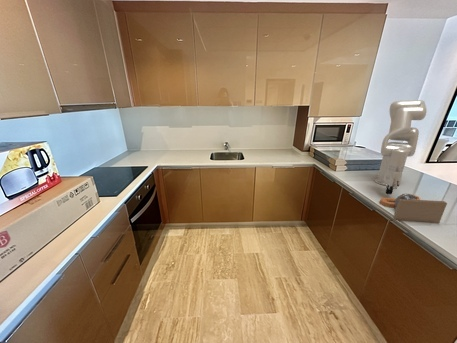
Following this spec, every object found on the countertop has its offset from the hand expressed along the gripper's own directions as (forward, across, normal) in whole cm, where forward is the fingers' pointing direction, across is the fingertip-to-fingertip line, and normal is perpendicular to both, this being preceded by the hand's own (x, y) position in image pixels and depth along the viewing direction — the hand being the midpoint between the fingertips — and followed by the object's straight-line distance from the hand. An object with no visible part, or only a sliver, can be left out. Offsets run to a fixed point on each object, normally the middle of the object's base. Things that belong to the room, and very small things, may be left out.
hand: (388, 193), depth 128 cm
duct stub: (+2, +22, 0) cm, 22 cm away
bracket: (+3, +12, 0) cm, 12 cm away
